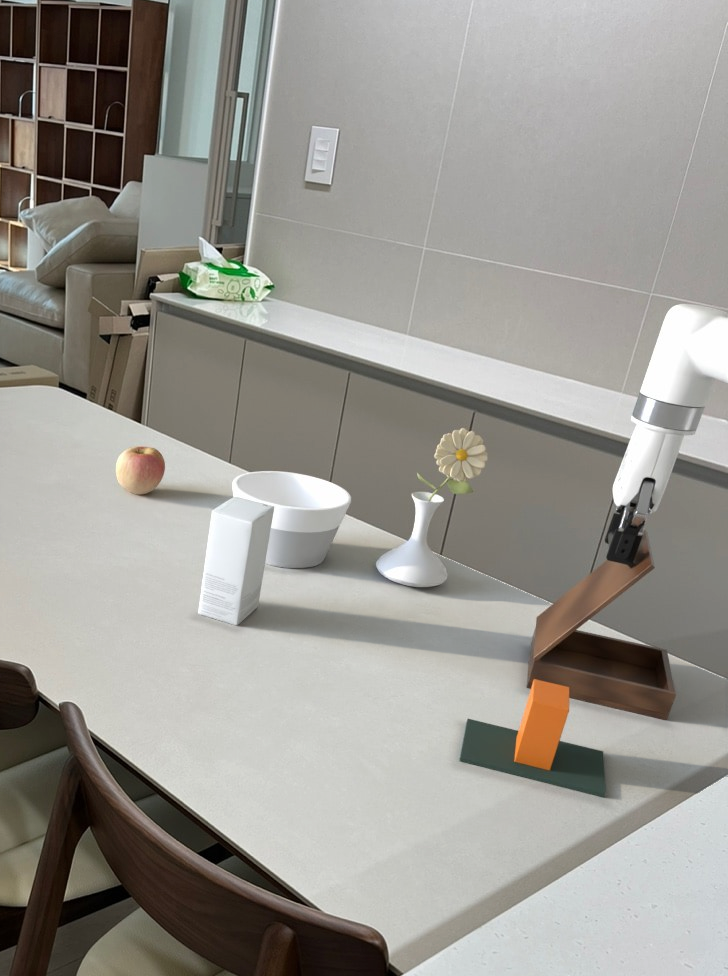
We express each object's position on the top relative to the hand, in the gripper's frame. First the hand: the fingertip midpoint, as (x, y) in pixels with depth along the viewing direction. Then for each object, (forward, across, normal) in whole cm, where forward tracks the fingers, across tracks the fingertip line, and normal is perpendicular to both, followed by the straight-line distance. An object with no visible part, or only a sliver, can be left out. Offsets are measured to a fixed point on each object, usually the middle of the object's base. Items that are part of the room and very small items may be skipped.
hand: (617, 552), depth 136 cm
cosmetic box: (+20, +5, -48) cm, 52 cm away
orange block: (+18, +26, -5) cm, 32 cm away
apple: (+21, -38, -78) cm, 89 cm away
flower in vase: (+19, -23, -25) cm, 39 cm away
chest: (+18, 0, +3) cm, 18 cm away
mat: (+18, +26, -5) cm, 32 cm away
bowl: (+20, -23, -47) cm, 56 cm away
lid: (+7, 0, -1) cm, 7 cm away
